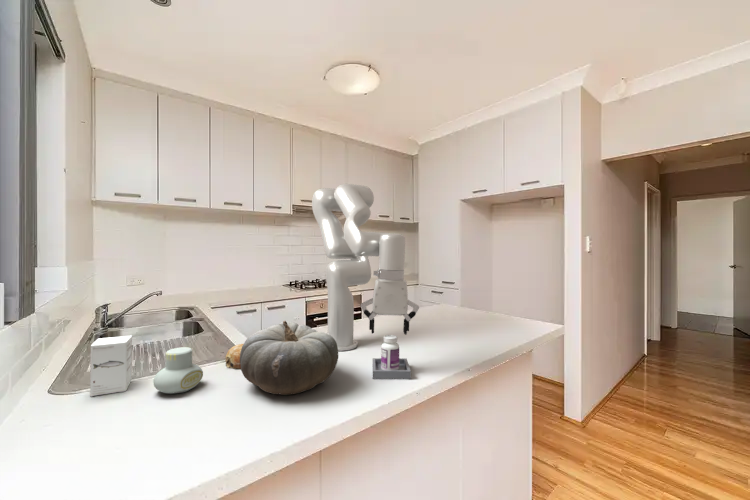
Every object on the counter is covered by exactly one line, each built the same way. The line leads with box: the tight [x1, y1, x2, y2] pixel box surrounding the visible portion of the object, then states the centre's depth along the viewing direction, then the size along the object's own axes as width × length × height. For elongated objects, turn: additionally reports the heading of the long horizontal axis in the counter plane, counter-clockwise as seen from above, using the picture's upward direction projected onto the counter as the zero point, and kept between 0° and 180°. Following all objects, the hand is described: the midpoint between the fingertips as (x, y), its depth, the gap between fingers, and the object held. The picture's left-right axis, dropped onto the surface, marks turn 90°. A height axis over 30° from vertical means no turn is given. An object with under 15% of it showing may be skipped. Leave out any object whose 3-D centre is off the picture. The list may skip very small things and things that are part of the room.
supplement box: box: [89, 335, 133, 397], centre depth 85 cm, size 7×7×13 cm
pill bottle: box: [380, 334, 400, 370], centre depth 98 cm, size 5×5×10 cm
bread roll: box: [225, 343, 244, 370], centre depth 104 cm, size 10×10×8 cm
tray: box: [372, 357, 412, 380], centre depth 98 cm, size 11×11×2 cm
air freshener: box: [152, 346, 204, 395], centre depth 85 cm, size 11×8×10 cm
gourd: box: [240, 320, 339, 396], centre depth 89 cm, size 25×25×17 cm
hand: (388, 332), depth 99 cm, fingers open, 9 cm apart
